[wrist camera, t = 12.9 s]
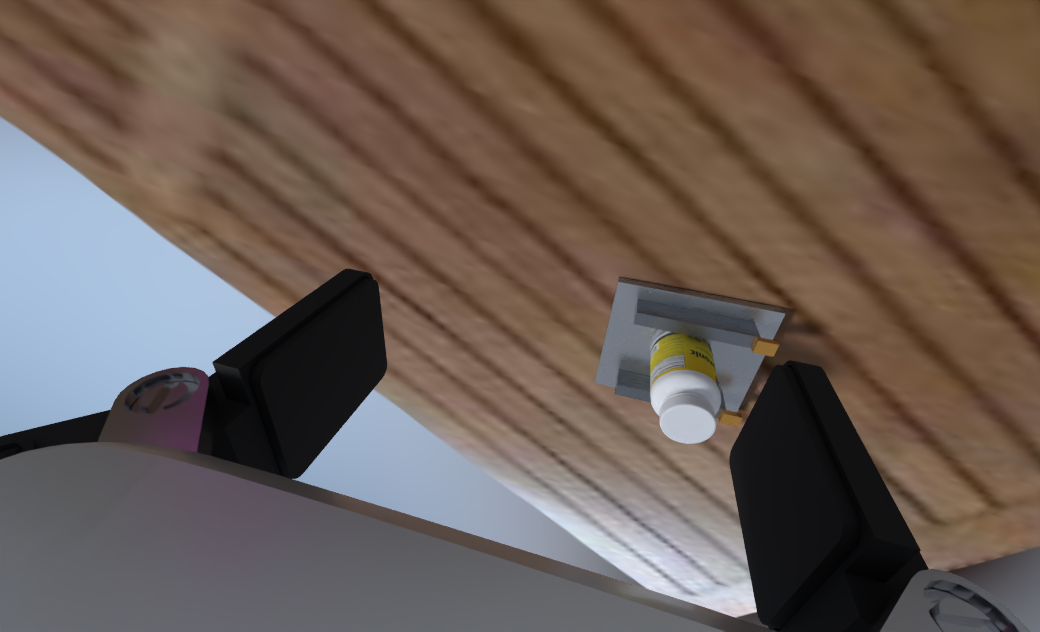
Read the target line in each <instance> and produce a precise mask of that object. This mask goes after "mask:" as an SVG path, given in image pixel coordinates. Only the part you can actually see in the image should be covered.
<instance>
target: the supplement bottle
mask: <svg viewBox="0 0 1040 632" xmlns="http://www.w3.org/2000/svg"><path fill="white" fill-rule="evenodd" d="M650 398H651V404H652V407H653V409H654V410H655V412H656V413H657V414H658V415H659V416H660V426H661V429H662V431H663V432H664V433H665V435H667V436H668V437H669V438H671V439H672V440H674V441H677V442H681V443H686V444H694V443H699V442H702V441H705V440H707V439H708V438H710V437H711V436H712V435H713V433H714V432H715V429H716V419H715V415H716V413H717V412H718V410H719V408H720V405H721V394H720V388H719V384H718V379H717V374H716V369H715V364H714V359H713V353H712V349H711V346H710V344H709V342H708V341H707V340H706V339H703V338H698V337H693V336H689V335H684V334H679V333H674V332H669V331H667V332H665V333H663V334H661V335H660V336H659V337H658V338H657V339H656V340H655V341H654V343H653V345H652V348H651V355H650Z"/></svg>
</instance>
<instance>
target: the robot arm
mask: <svg viewBox="0 0 1040 632" xmlns="http://www.w3.org/2000/svg"><path fill="white" fill-rule="evenodd" d="M213 365H214V368H215V370H216V372H215V373H214V374H212V375H211V376H210V377H208V376H207V375H206V373H205V372H204V371H202V370H199V369H196V368H189V367H179V368H170V369H166V370H162V371H158V372H155V373H152V374H150V375H147V376H145V377H142V378H140V379H139V380H137V381H135V382H133V383H132V384H130V385H129V386H127V387H126V388H125V389H124V390H123V391H122V392H120V394H119V395H118V397H117V398H116V400H115V401H114V403H113V406H112V408H111V410H108V411H104V412H100V413H96V414H91V415H87V416H83V417H79V418H75V419H70V420H66V421H62V422H58V423H54V424H50V425H46V426H41V427H37V428H33V429H29V430H25V431H21V432H17V433H13V434H8V435H4V436H1V437H0V632H1030V631H1029V630H1028V628H1027V627H1026V626H1025V625H1024V624H1023V623H1022V622H1021V621H1020V620H1019V619H1018V618H1017V617H1016V616H1015V615H1014V614H1013V613H1012V612H1011V611H1010V610H1009V609H1008V608H1007V607H1006V606H1005V605H1003V604H1002V603H1001V602H999V601H998V600H997V599H996V598H994V597H993V596H992V595H990V594H989V593H988V592H986V591H985V590H983V589H981V588H980V587H978V586H976V585H975V584H973V583H972V582H970V581H968V580H966V579H964V578H961V577H959V576H956V575H954V574H951V573H950V572H945V571H940V570H935V569H930V570H929V569H928V567H927V565H926V563H925V561H924V559H923V557H922V556H921V554H920V551H921V550H920V548H919V546H918V544H917V543H916V541H915V539H914V537H913V535H912V533H911V531H910V530H909V528H908V526H907V524H906V522H905V520H904V518H903V517H902V515H901V513H900V511H899V509H898V507H897V505H896V504H895V502H894V500H893V498H892V496H891V494H890V492H889V491H888V489H887V487H886V485H885V483H884V481H883V480H882V478H881V476H880V474H879V472H878V470H877V468H876V467H875V465H874V463H873V461H872V459H871V457H870V455H869V454H868V452H867V450H866V448H865V446H864V444H863V442H862V441H861V439H860V437H859V435H858V433H857V431H856V429H855V428H854V426H853V424H852V422H851V420H850V418H849V416H848V415H847V413H846V411H845V409H844V407H843V405H842V403H841V402H840V400H839V398H838V396H837V394H836V392H835V390H834V389H833V387H832V385H831V383H830V381H829V379H828V377H827V376H826V374H825V372H824V370H823V369H822V368H821V367H819V366H815V365H810V364H806V363H801V362H796V361H791V360H790V361H787V362H786V363H785V364H784V366H782V365H776V366H775V367H774V369H773V370H772V372H771V374H770V376H769V378H768V380H767V382H766V384H765V386H764V388H763V390H762V391H761V393H760V395H759V397H758V399H757V401H756V403H755V405H754V407H753V409H752V411H751V413H750V415H749V417H748V418H747V420H746V422H745V424H744V426H743V428H742V430H741V432H740V434H739V436H738V438H737V440H736V442H735V443H734V445H733V447H732V450H731V453H730V469H731V475H732V480H733V485H734V491H735V496H736V501H737V507H738V512H739V517H740V523H741V528H742V533H743V539H744V544H745V549H746V555H747V560H748V565H749V571H750V576H751V581H752V587H753V592H754V598H755V603H756V608H757V613H758V617H759V619H760V621H761V622H762V624H764V625H768V628H769V629H768V628H765V627H761V626H758V625H755V624H753V623H749V622H747V621H744V620H740V619H738V618H735V617H732V616H729V615H726V614H723V613H720V612H717V611H714V610H711V609H708V608H705V607H702V606H698V605H695V604H692V603H689V602H686V601H683V600H680V599H676V598H673V597H670V596H667V595H664V594H661V593H657V592H654V591H651V590H648V589H645V588H641V587H638V586H635V585H632V584H629V583H626V582H623V581H619V580H616V579H613V578H610V577H607V576H604V575H600V574H597V573H594V572H591V571H588V570H585V569H581V568H578V567H575V566H571V565H569V564H566V563H562V562H559V561H556V560H553V559H550V558H546V557H543V556H540V555H537V554H533V553H530V552H527V551H524V550H521V549H517V548H514V547H511V546H508V545H505V544H501V543H498V542H495V541H492V540H489V539H485V538H482V537H479V536H475V535H472V534H469V533H466V532H463V531H459V530H456V529H453V528H450V527H447V526H443V525H440V524H437V523H434V522H430V521H427V520H424V519H421V518H417V517H414V516H411V515H408V514H404V513H401V512H398V511H395V510H391V509H388V508H385V507H381V506H378V505H375V504H372V503H368V502H365V501H362V500H358V499H355V498H352V497H349V496H345V495H342V494H339V493H336V492H332V491H329V490H326V489H322V488H319V487H316V486H312V485H309V484H305V483H302V482H299V481H296V480H293V479H296V478H298V477H300V476H301V475H302V474H303V473H304V472H305V470H306V469H307V468H308V467H309V465H310V464H311V463H312V462H313V461H314V460H315V458H316V457H317V456H318V455H319V454H320V452H321V451H322V450H323V449H324V448H325V446H326V445H327V444H328V443H329V442H330V440H331V439H332V438H333V437H334V435H335V434H336V433H337V432H338V431H339V430H340V428H341V427H342V426H343V425H344V423H345V422H346V421H347V420H348V419H349V418H350V416H351V415H352V414H353V413H354V412H355V410H356V409H357V408H358V407H359V406H360V404H361V403H362V402H363V401H364V400H365V398H366V397H367V396H368V395H369V394H370V392H371V391H372V390H373V389H374V387H375V386H376V385H377V384H378V383H379V381H380V380H381V379H382V378H383V376H384V375H385V372H386V369H387V358H386V349H385V340H384V331H383V322H382V313H381V304H380V295H379V286H378V283H377V281H376V280H373V277H372V275H371V274H370V273H367V272H362V271H357V270H353V269H345V270H343V271H341V272H340V273H339V274H337V275H336V276H334V277H333V278H331V279H330V280H329V281H327V282H326V283H324V284H323V285H321V286H320V287H319V288H317V289H316V290H314V291H313V292H312V293H310V294H309V295H307V296H306V297H304V298H303V299H302V300H300V301H299V302H297V303H296V304H294V305H293V306H292V307H290V308H289V309H287V310H286V311H284V312H283V313H282V314H280V315H279V316H277V317H276V318H275V319H273V320H272V321H270V322H269V323H268V324H266V325H265V326H263V327H262V328H260V329H259V330H257V331H256V332H255V333H253V334H252V335H250V336H249V337H248V338H246V339H245V340H243V341H242V342H241V343H239V344H238V345H236V346H235V347H233V348H232V349H230V350H229V351H228V352H226V353H225V354H223V355H222V356H220V357H219V358H218V359H216V360H215V361H213Z"/></svg>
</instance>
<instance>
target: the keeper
mask: <svg viewBox="0 0 1040 632" xmlns="http://www.w3.org/2000/svg"><path fill="white" fill-rule="evenodd" d="M785 314H786V313H785V311H784V309H783V308H781V307H776V306H770V305H765V304H760V303H754V302H749V301H744V300H738V299H733V298H728V297H722V296H717V295H712V294H707V293H701V292H696V291H691V290H685V289H680V288H675V287H669V286H664V285H659V284H653V283H648V282H643V281H638V280H632V279H627V278H622V277H619V279H618V284H617V288H616V292H615V297H614V301H613V305H612V309H611V314H610V318H609V322H608V327H607V331H606V335H605V339H604V344H603V348H602V352H601V357H600V361H599V365H598V370H597V374H596V379H595V383H598V384H602V385H606V386H610V387H615V394H617V395H622V396H626V397H630V398H634V399H639V400H643V401H647V402H651V398H650V355H651V348H652V345H653V343H654V341H655V340H656V339H657V338H658V337H659V336H660V335H661V334H663V333H665V332H667V331H669V332H674V333H679V334H684V335H689V336H693V337H698V338H703V339H706V340H707V341H708V342H709V344H710V346H711V349H712V353H713V359H714V364H715V369H716V374H717V379H718V384H719V388H720V394H721V405H720V408H719V410H718V412H717V413H716V415H715V418H719V423H722V424H726V425H730V426H735V427H738V426H739V424H740V422H741V420H742V414H741V413H738V412H737V411H738V409H739V407H740V405H741V403H742V401H743V399H744V397H745V395H746V393H747V391H748V389H749V387H750V385H751V383H752V381H753V379H754V377H755V375H756V373H757V371H758V369H759V367H760V365H761V363H762V361H763V359H764V357H765V355H767V356H772V357H774V355H775V353H776V351H777V349H778V347H779V343H778V341H776V340H773V338H774V336H775V334H776V332H777V330H778V328H779V326H780V324H781V322H782V320H783V318H784V316H785Z"/></svg>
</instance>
